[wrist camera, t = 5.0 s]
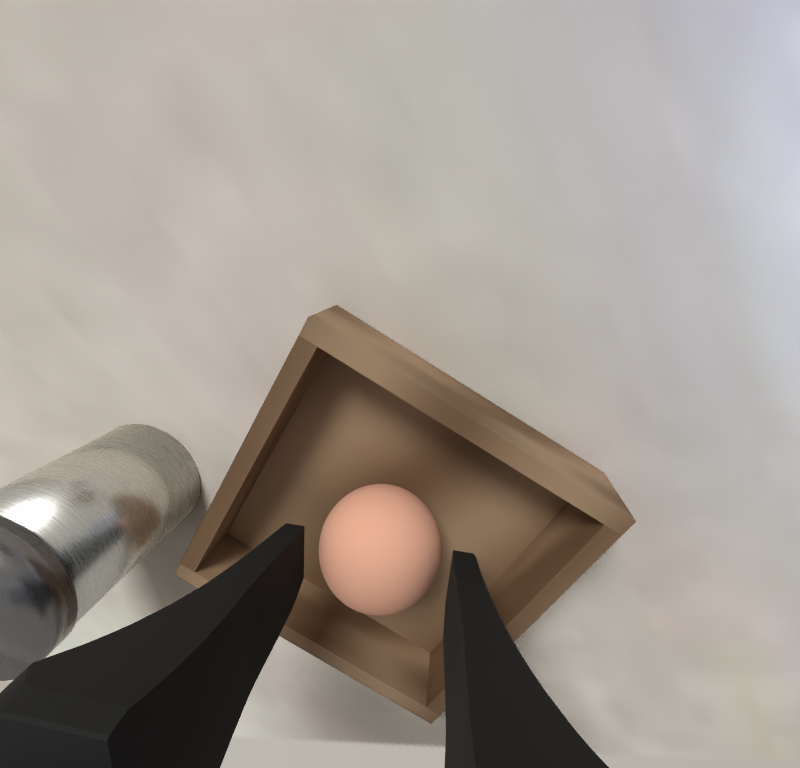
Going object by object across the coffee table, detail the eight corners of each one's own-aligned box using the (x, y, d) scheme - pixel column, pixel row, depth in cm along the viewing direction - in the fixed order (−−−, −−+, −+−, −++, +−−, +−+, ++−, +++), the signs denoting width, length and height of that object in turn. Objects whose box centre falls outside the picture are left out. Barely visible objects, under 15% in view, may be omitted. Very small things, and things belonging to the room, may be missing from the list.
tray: (603, 472, 15) (635, 521, 12) (435, 655, 18) (431, 723, 16) (336, 305, 14) (308, 316, 11) (216, 526, 18) (174, 574, 15)
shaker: (220, 462, 17) (64, 600, 10) (179, 542, 18) (21, 707, 12) (115, 399, 17) (-115, 498, 10) (83, 486, 18) (-135, 621, 11)
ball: (448, 470, 15) (449, 546, 11) (434, 561, 16) (431, 657, 12) (338, 455, 15) (302, 524, 11) (333, 545, 16) (299, 635, 13)
